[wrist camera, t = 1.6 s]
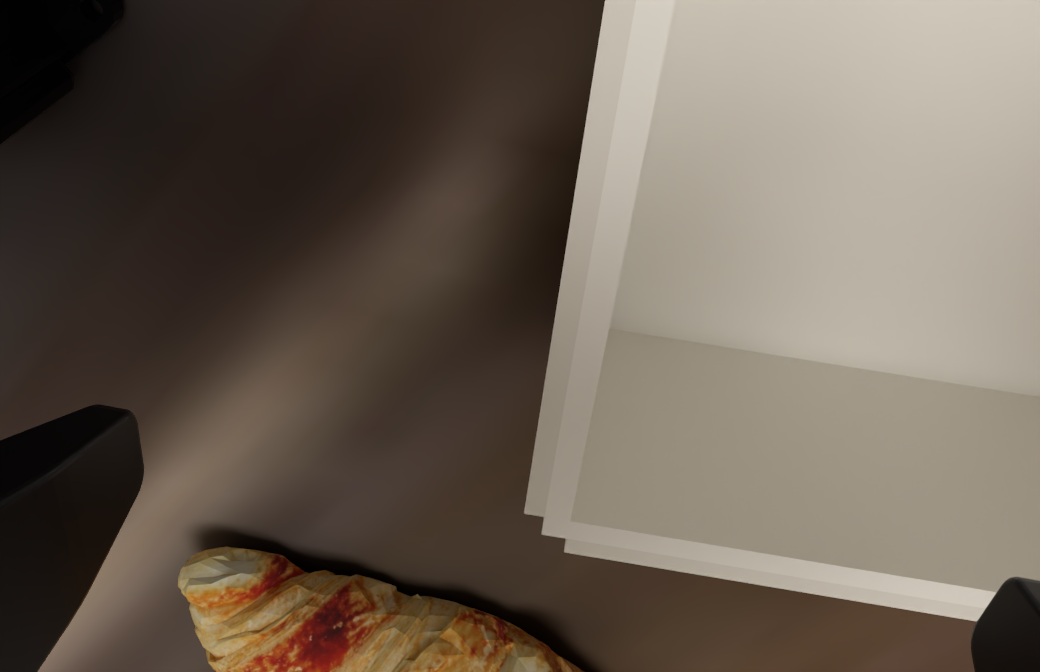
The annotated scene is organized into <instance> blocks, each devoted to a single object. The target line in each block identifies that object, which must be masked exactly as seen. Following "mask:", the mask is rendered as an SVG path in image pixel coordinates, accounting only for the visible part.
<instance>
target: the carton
mask: <svg viewBox="0 0 1040 672" xmlns="http://www.w3.org/2000/svg"><path fill="white" fill-rule="evenodd" d="M524 514H529V515H535V516H541V517H544V519H543V527H542V535H548V536H554V537H560V538H565V547H564V552H566V553H572V554H578V555H584V556H590V557H596V558H602V559H608V560H614V561H620V562H626V563H632V564H638V565H644V566H650V567H656V568H661V569H667V570H673V571H679V572H685V573H691V574H697V575H703V576H709V577H715V578H721V579H727V580H733V581H739V582H745V583H751V584H757V585H763V586H769V587H775V588H781V589H787V590H793V591H799V592H805V593H811V594H817V595H823V596H829V597H835V598H840V599H846V600H852V601H858V602H864V603H870V604H876V605H882V606H888V607H894V608H900V609H906V610H912V611H918V612H924V613H930V614H936V615H942V616H948V617H954V618H960V619H966V620H972V621H978V619H979V618H980V616H981V615H982V613H983V612H984V610H985V609H986V607H987V606H988V604H989V603H990V601H991V600H992V599H993V597H994V596H995V594H996V593H997V591H998V590H999V588H1000V587H1001V585H1002V584H1003V583H1004V582H1005V581H1006V580H1007V579H1009V578H1011V577H1023V578H1028V579H1033V580H1039V581H1040V0H605V4H604V10H603V17H602V23H601V29H600V36H599V42H598V48H597V55H596V61H595V67H594V74H593V80H592V86H591V93H590V99H589V105H588V112H587V118H586V124H585V131H584V137H583V143H582V150H581V156H580V162H579V169H578V175H577V181H576V188H575V194H574V200H573V207H572V213H571V219H570V226H569V232H568V238H567V245H566V251H565V257H564V264H563V270H562V276H561V283H560V289H559V295H558V302H557V308H556V314H555V321H554V327H553V333H552V340H551V346H550V352H549V359H548V365H547V371H546V377H545V384H544V390H543V396H542V403H541V409H540V415H539V422H538V428H537V434H536V441H535V447H534V453H533V460H532V466H531V472H530V479H529V485H528V491H527V498H526V504H525V510H524Z"/></svg>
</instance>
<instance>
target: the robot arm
mask: <svg viewBox="0 0 1040 672" xmlns="http://www.w3.org/2000/svg"><path fill="white" fill-rule="evenodd" d="M96 1H98V2H99V3H100V5H101V7H102V8H103V15H99V14H97V13H96V12H95V11H93V10H92V8H91V6H90V5H89V0H0V146H1V145H2V144H3V143H5V142H6V141H7V140H8V139H10V138H11V137H12V136H14V135H15V134H16V133H17V132H19V131H20V130H21V129H22V128H24V127H25V126H26V125H28V124H29V123H30V122H31V121H33V120H34V119H35V118H36V117H38V116H39V115H40V114H42V113H43V112H44V111H45V110H47V109H48V108H49V107H50V106H52V105H53V104H54V103H56V102H57V101H58V100H59V99H61V98H62V97H63V96H64V95H66V94H67V93H68V92H70V91H71V90H72V89H73V88H74V75H73V74H72V72H71V71H70V70H69V69H68V68H67V67H66V66H65V65H66V64H68V63H69V62H70V61H71V60H73V59H74V58H75V57H76V56H78V55H79V54H80V53H81V52H83V51H84V50H85V49H86V48H87V47H89V46H90V45H91V44H92V43H94V42H95V41H96V40H97V39H99V38H100V37H101V36H102V35H104V34H105V33H106V32H107V31H109V30H110V29H111V28H112V27H114V26H115V25H116V24H117V23H118V22H119V21H120V19H121V18H122V13H123V6H122V2H121V0H96ZM143 475H144V463H143V457H142V450H141V443H140V437H139V430H138V423H137V419H136V417H135V415H134V414H133V413H132V412H131V411H129V410H126V409H121V408H115V407H110V406H105V405H92V406H88V407H86V408H83V409H81V410H78V411H75V412H73V413H70V414H68V415H65V416H62V417H60V418H57V419H55V420H52V421H50V422H47V423H44V424H42V425H39V426H37V427H34V428H31V429H29V430H26V431H24V432H21V433H19V434H16V435H13V436H11V437H8V438H6V439H3V440H0V672H38V670H39V669H40V667H41V666H42V664H43V663H44V661H45V660H46V658H47V657H48V655H49V654H50V652H51V651H52V649H53V648H54V646H55V645H56V643H57V642H58V640H59V639H60V637H61V636H62V634H63V633H64V631H65V630H66V628H67V627H68V625H69V624H70V622H71V620H72V619H73V617H74V616H75V614H76V612H77V611H78V609H79V608H80V606H81V605H82V603H83V601H84V599H85V597H86V595H87V594H88V592H89V590H90V588H91V586H92V584H93V582H94V580H95V578H96V576H97V574H98V572H99V570H100V568H101V566H102V564H103V562H104V561H105V559H106V557H107V555H108V553H109V551H110V549H111V547H112V545H113V543H114V541H115V539H116V537H117V535H118V533H119V531H120V529H121V527H122V525H123V523H124V521H125V519H126V517H127V515H128V513H129V511H130V509H131V507H132V505H133V503H134V501H135V499H136V497H137V495H138V493H139V491H140V488H141V485H142V481H143ZM971 652H972V658H973V664H974V669H975V672H1040V581H1039V580H1033V579H1028V578H1023V577H1011V578H1009V579H1007V580H1006V581H1005V582H1004V583H1003V584H1002V585H1001V587H1000V588H999V590H998V591H997V593H996V594H995V596H994V597H993V599H992V600H991V601H990V603H989V604H988V606H987V607H986V609H985V610H984V612H983V613H982V615H981V616H980V618H979V619H978V621H977V622H976V624H975V626H974V629H973V632H972V638H971Z"/></svg>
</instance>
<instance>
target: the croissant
mask: <svg viewBox="0 0 1040 672" xmlns="http://www.w3.org/2000/svg"><path fill="white" fill-rule="evenodd" d="M178 587H179V588H180V589H181V591H182V594H183V595H184V596H186V598H187V600H188V601H189V602H190V607H189V609H190V612H191V615H192V618H193V622H194V624H195V625H196V626H195V632H196V634H197V636H198V638H199V640H200V642H201V644H202V645H203V647H204V648H205V649H206V654H207V658H208V663H209V664H210V665H211V667H212V668H213V669H214V670H215V671H216V672H585V671H583V670H581V669H580V668H578V667H577V666H575V665H574V664H572V663H571V662H569V661H568V660H566V659H565V658H562V657H560V656H558V655H557V654H556V653H555V652H553V651H552V650H551V649H550V647H549V646H548V645H546V644H544V643H543V642H541V641H539V640H537V639H536V638H534V637H532V636H531V635H529V634H528V633H526V632H525V631H523V630H522V629H520V628H518V627H517V626H515V625H513V624H511V623H509V622H507V621H505V620H503V619H501V618H498V617H496V616H494V615H491V614H488V613H486V612H483V611H480V610H477V609H474V608H470V607H467V606H464V605H461V604H459V603H456V602H452V601H448V600H443V599H439V598H434V597H430V596H419V595H418V594H416V595H414V596H408V595H406V594H403V593H400V592H398V591H397V589H396V586H393V585H391V584H388V583H385V582H382V581H379V580H376V579H373V578H369V577H365V576H361V575H357V574H356V575H353V576H345V575H335V574H334V573H332V572H329V571H327V570H323V571H316V572H312V573H307V572H304V571H303V570H301V569H300V568H299V567H297V566H296V565H294V564H293V563H291V562H290V561H289V560H288V559H287V558H285V557H284V556H282V555H279V554H274V553H269V552H264V551H259V550H251V549H244V548H231V547H227V546H226V547H220V548H214V549H207V550H204V551H202V552H199V553H196V554H194V555H193V556H192V557H191V558H189V559H188V560H187V562H186V564H185V566H184V567H183V568H181V571H180V574H179V577H178Z"/></svg>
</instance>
